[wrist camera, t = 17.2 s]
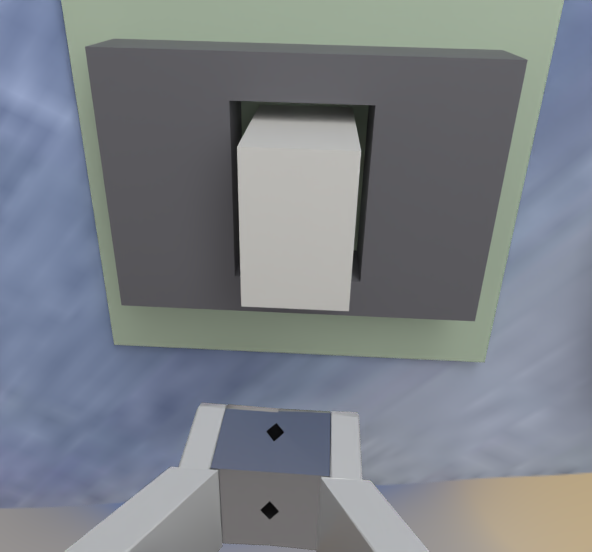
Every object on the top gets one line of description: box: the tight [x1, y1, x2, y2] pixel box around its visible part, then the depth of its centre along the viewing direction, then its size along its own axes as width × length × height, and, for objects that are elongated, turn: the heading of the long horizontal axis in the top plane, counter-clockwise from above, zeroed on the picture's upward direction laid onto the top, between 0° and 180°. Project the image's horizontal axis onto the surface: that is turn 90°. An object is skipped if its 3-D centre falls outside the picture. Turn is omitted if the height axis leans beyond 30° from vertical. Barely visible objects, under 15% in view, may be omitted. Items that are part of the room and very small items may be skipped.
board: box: [61, 0, 564, 362], centre depth 25 cm, size 20×20×4 cm
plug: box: [237, 104, 361, 311], centre depth 23 cm, size 4×6×7 cm, turn 179°
